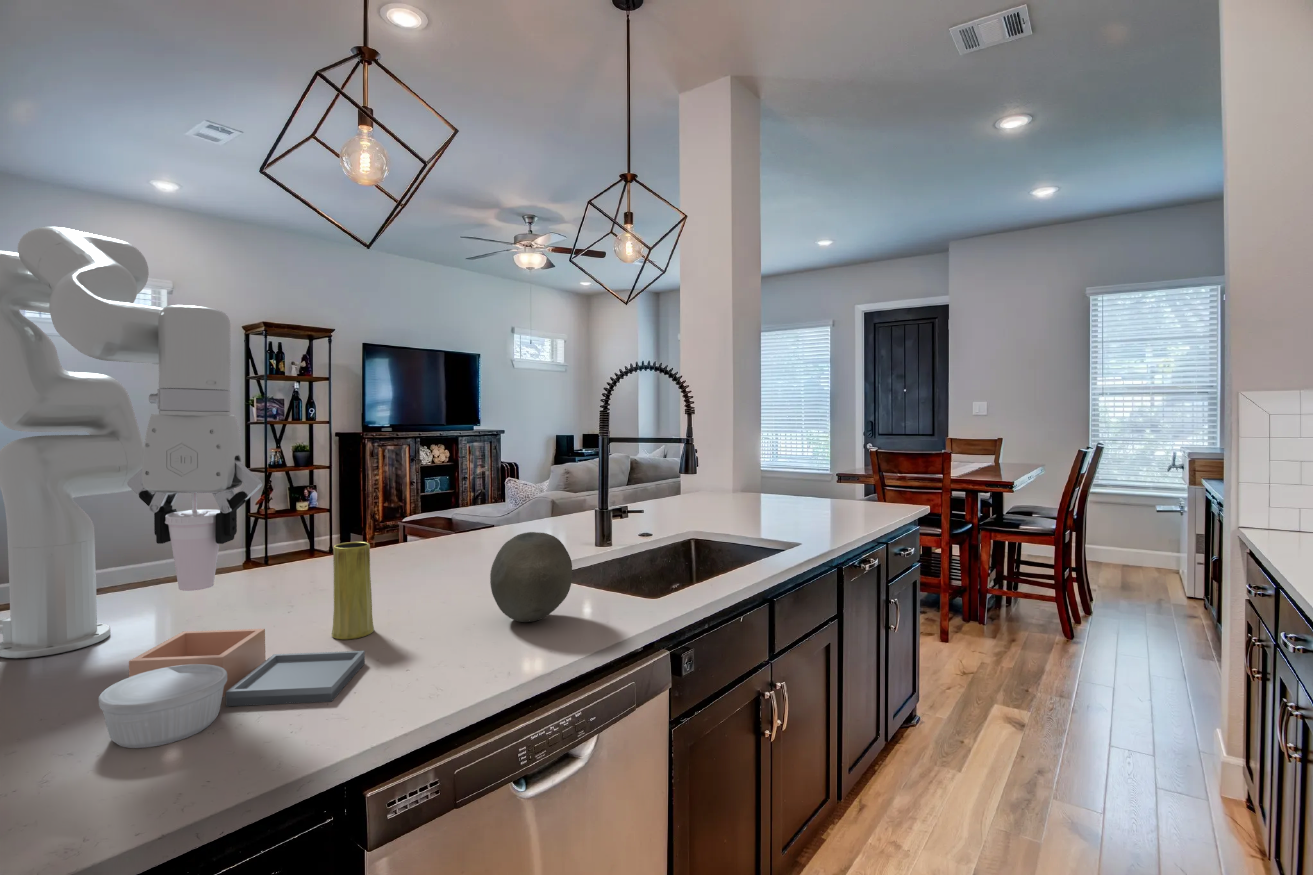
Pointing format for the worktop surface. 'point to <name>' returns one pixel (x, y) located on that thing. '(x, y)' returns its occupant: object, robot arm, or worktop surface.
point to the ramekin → (163, 704)
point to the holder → (207, 652)
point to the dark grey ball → (531, 576)
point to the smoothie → (194, 546)
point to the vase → (352, 591)
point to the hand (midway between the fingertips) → (196, 540)
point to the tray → (296, 678)
